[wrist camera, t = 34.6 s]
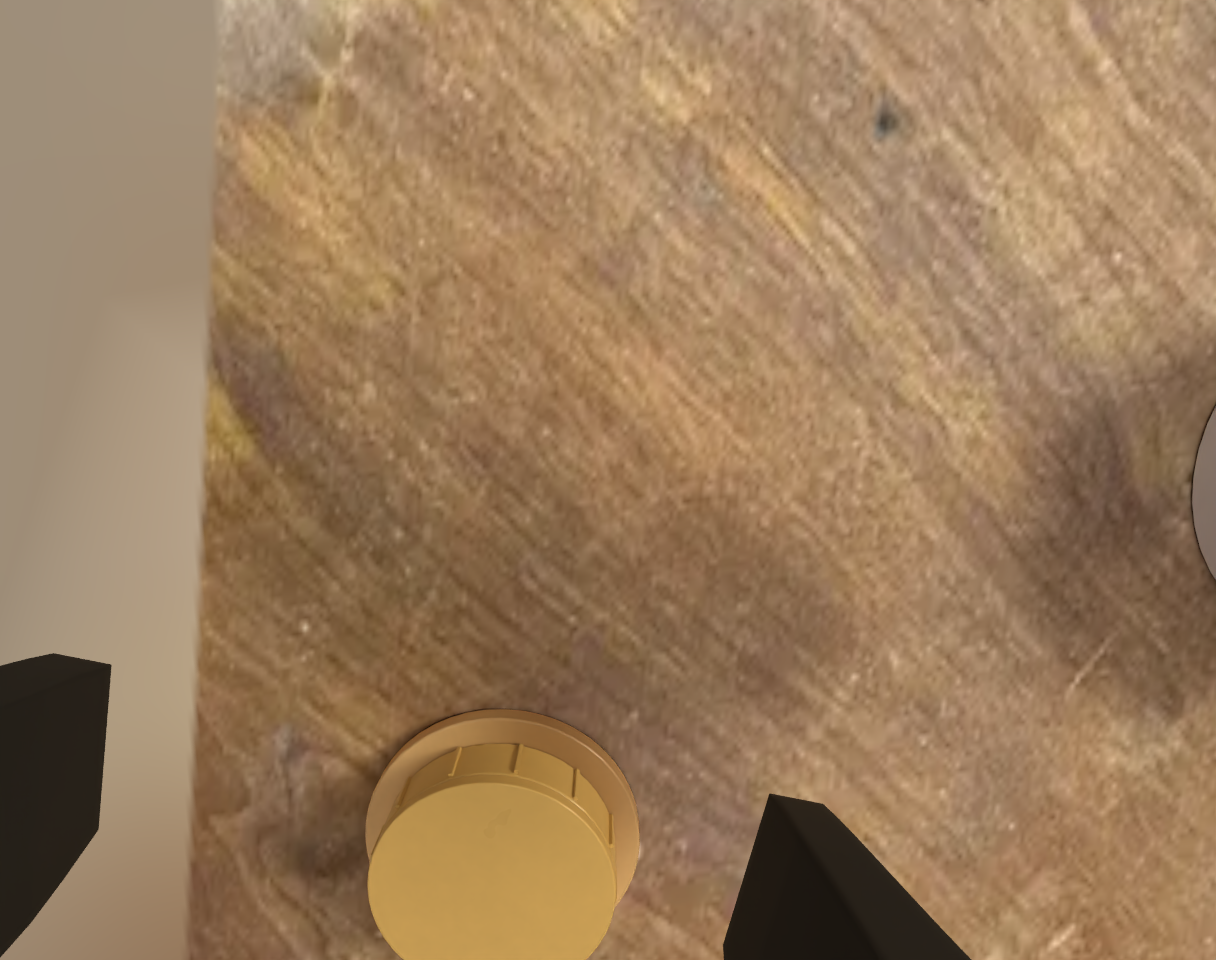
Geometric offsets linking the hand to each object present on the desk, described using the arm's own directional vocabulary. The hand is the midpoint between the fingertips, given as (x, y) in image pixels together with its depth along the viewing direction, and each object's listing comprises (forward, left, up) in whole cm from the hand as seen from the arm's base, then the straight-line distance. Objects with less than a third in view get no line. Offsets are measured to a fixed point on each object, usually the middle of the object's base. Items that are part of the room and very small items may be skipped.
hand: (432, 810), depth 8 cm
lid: (-1, -8, -9) cm, 12 cm away
